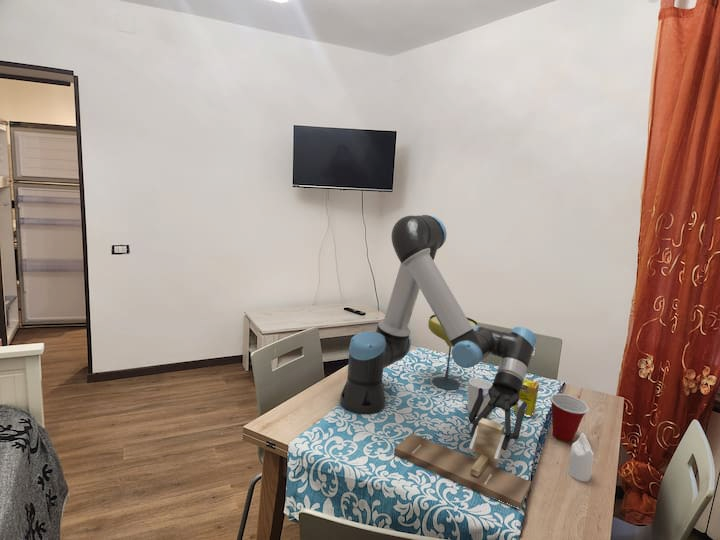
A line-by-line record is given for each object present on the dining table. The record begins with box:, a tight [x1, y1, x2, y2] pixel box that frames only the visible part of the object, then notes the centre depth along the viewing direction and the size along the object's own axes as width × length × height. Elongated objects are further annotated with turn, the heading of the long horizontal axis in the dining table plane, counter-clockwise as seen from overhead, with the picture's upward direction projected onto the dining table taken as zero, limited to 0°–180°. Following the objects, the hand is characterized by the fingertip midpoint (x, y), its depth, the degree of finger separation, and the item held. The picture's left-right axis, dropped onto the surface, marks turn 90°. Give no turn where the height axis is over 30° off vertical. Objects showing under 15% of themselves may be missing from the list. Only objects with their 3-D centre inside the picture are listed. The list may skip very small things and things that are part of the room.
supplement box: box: [513, 378, 540, 416], centre depth 154 cm, size 6×6×11 cm
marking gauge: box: [470, 418, 505, 477], centre depth 118 cm, size 6×11×12 cm, turn 146°
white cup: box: [466, 377, 493, 416], centre depth 153 cm, size 8×8×10 cm
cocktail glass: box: [428, 314, 479, 391], centre depth 171 cm, size 18×18×25 cm
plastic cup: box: [550, 393, 589, 443], centre depth 140 cm, size 11×11×12 cm
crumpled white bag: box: [567, 432, 595, 483], centre depth 121 cm, size 6×12×6 cm
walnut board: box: [393, 432, 532, 510], centre depth 120 cm, size 34×10×2 cm, turn 56°
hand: (483, 455), depth 119 cm, fingers closed on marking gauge, 6 cm apart
